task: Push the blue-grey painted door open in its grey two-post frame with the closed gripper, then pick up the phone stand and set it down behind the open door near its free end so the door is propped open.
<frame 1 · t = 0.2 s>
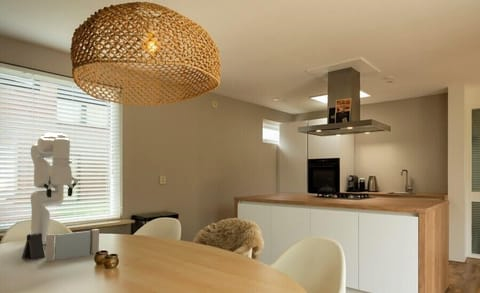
hand: (59, 196, 166), 31 cm above the table, fingers open, 9 cm apart
phone stand: (33, 258, 166), on the table
hinge post: (94, 253, 174), on the table
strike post: (49, 260, 161), on the table
door: (74, 244, 168), point 6 cm above the table, hinge at 0.0°
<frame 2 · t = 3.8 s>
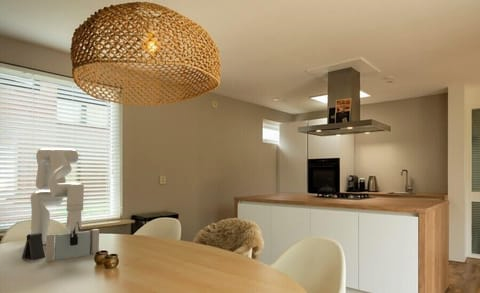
hand: (73, 245, 165), 7 cm above the table, fingers closed
door: (74, 244, 168), point 6 cm above the table, hinge at 1.0°, touching gripper
everything else where it was.
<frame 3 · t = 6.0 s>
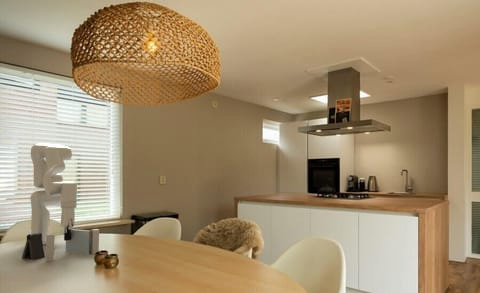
hand: (67, 240, 175), 7 cm above the table, fingers closed
door: (79, 240, 176), point 6 cm above the table, hinge at 60.2°, touching gripper
everything else where it was.
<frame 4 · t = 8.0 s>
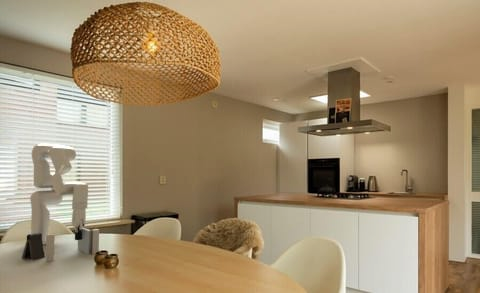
hand: (78, 239, 179), 6 cm above the table, fingers closed
door: (85, 239, 179), point 6 cm above the table, hinge at 85.0°, touching gripper, hinge post
everything else where it was.
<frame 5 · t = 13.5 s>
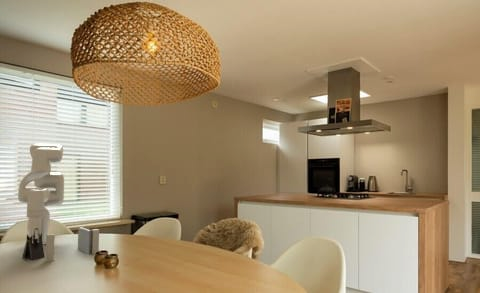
hand: (33, 250, 166), 4 cm above the table, fingers closed on phone stand, 3 cm apart
phone stand: (33, 258, 166), on the table, touching gripper
door: (85, 239, 179), point 6 cm above the table, hinge at 85.1°, touching hinge post
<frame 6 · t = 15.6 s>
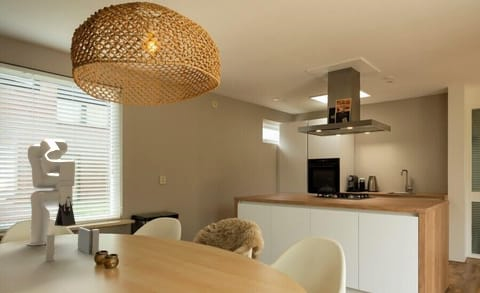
hand: (65, 217, 175), 19 cm above the table, fingers closed on phone stand, 3 cm apart
phone stand: (65, 225, 174), point 15 cm above the table, touching gripper
everything else where it was.
when the fingers open (5 cm above the table, at t = 18.0 s): phone stand drops 2 cm, on the table.
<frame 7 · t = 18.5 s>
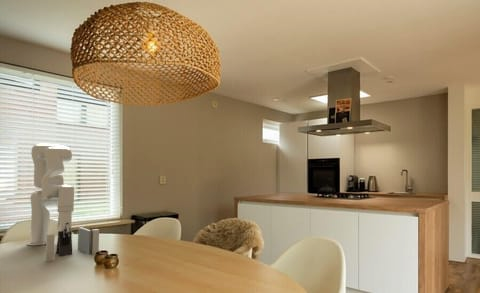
hand: (64, 243, 174), 5 cm above the table, fingers open, 5 cm apart
phone stand: (64, 254, 174), on the table
everything else where it was.
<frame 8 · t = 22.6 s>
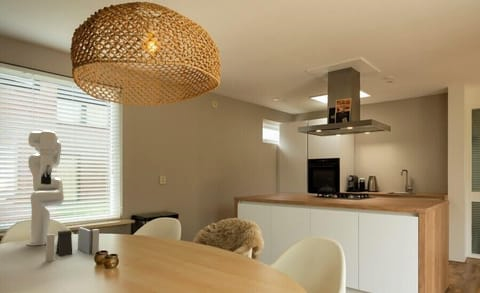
hand: (45, 184, 181), 36 cm above the table, fingers open, 9 cm apart
nothing on the table moved.
at the end: door at +85° (first picture: +0°); phone stand inside the target area (0.6 cm from its centre), on the table; phone stand tilted 0° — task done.
